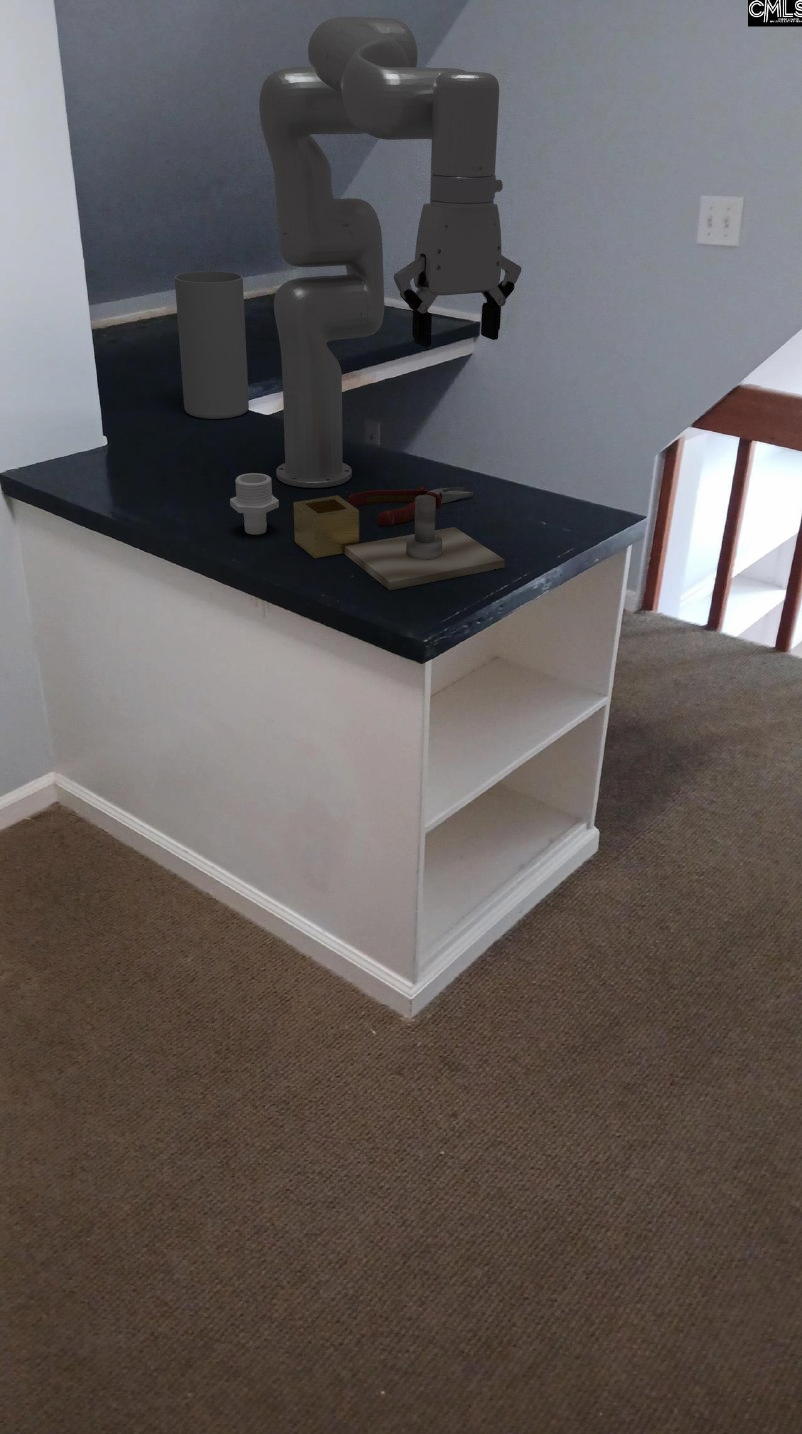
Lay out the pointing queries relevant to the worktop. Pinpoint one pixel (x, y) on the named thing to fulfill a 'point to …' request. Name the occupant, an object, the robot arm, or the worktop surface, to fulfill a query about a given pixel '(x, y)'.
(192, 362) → the cylinder vase
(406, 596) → the worktop surface
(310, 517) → the hollow wooden cube
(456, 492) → the pliers
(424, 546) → the post stand
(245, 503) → the pipe fitting
